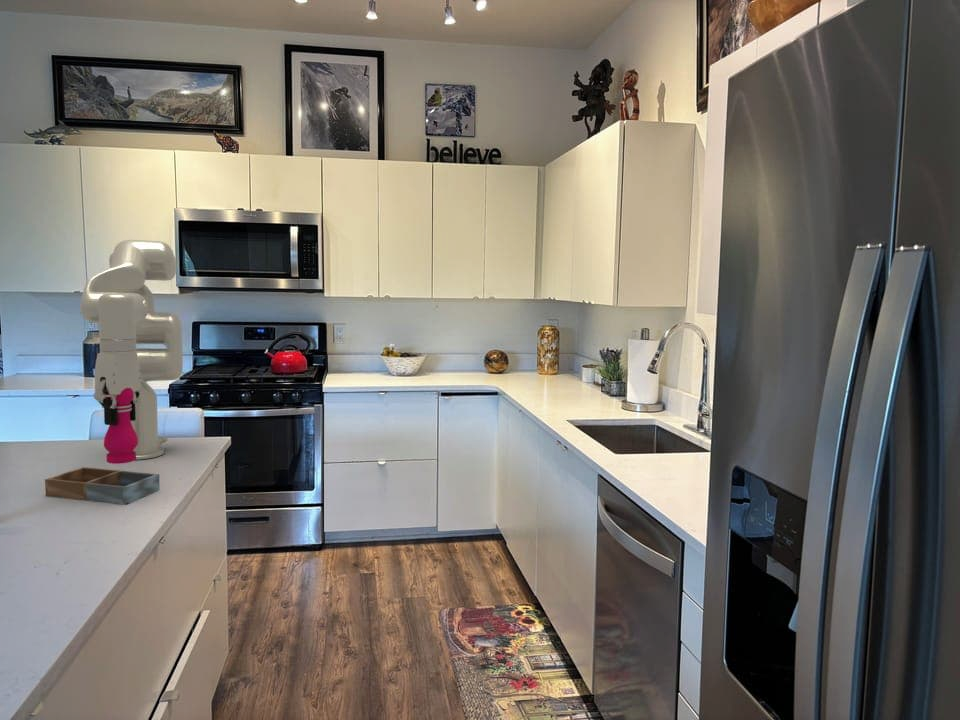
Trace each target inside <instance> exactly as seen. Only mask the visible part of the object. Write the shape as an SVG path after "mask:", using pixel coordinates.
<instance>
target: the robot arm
mask: <svg viewBox="0 0 960 720" xmlns="http://www.w3.org/2000/svg"><path fill="white" fill-rule="evenodd" d="M108 262H109V268H108V269H104V270H103V271H101V272H100V273H99V272H98V273H97V274H96V275H95V274H94V276H92V277H91V278H90V279H88V281H87V282H86V283H85V285H84V287H83V288H84V289H83V292H82V295H81V300H80V314H81V316H82V318H83V319H84V320H85V321H86V322H89V323H92V324H98V333H99V335H98V336H99V337H98V338H99V353H97V355H96V359H95V365H94V366H95V368H94V394H93V395H92V396H93V397H92V398H94V399H95V400H96V401H97V402H98V403H99V404H100V405H101V408H102V409H103V415H104V416H103V417H104V418H103V419H104V425H106V426H109V425H118V409H117V408H115V406H116V401H117V400H116V396H117V395H119V394H121V392H122V391H123V390H124V389H125V388H131V389H132V390H133V392H134V398H133V400H132V401H131V402H130V404H131V405H132V406H131V408H132V410H131V411H130V421H131V424H132V426H133V429H134V430H135V432H136V435H137V438H138V445H137V446H136V447H135V449H134V450H133V451H135V452H136V460H135V461H138V460H148V459H153V458H157V457H160V456H162V455H164V453H165V449H164V448H163V447H161V444H164V443H167V442H168V439H169V438H168V437H167V435H163V436H159V431H158V430H159V429H158V428H159V425H158V423H159V422H158V397H157V394H156V391H155V390H154V389H153V388H152V386H151V385H150V384H148V382H157V381H158V382H159V381H160V382H162V381H166V382H167V381H177V380H178V379H180V378H181V376H182V374H183V365H184V362H183V361H184V359H183V357H184V356H183V326H182V321H181V319H180V317H179V315H178V314H176V313H174V312H167V311H166V312H165V311H163V312H162V311H161V312H160V311H158V312H157V311H155V295H154V294H153V292H152V291H151V289H149V287H148V286H147V285H146V284H145V282H146V281H163V282H165V281H171V280H173V279H174V277H176V274H177V267H178V266H177V260H176V258H175V253H174V251H173V250H172V247H171V246H170V245H169V244H168V243H166V242H164V241H162V240H161V241H160V240H140V239H139V240H137V239H125V240H123V241H120V242H118V243H117V244H116V245H115V247H114V249H113V252H111V254H110V255H109V260H108ZM137 345H163V346H165V348H149V347H148V348H145V347H144V348H137ZM108 392H109V394H110V395H107V393H108ZM107 397H111V402H110V401H109V399H108V398H107Z"/></svg>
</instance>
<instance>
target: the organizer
mask: <svg viewBox="0 0 960 720" xmlns="http://www.w3.org/2000/svg"><path fill="white" fill-rule="evenodd" d="M44 486H45V487H44V488H45V497H54V498H61V497H64V499H71V498H73V500H80V499H84V500H83V501H89V500H93V501H92V502H98V501H101V503H108V502H111V503H110V504H117V503H121V504H120V505H128V504H130V502H131V503H133V502H135V501H138V500H139V498H140V499H142V498H144V497H143V496H145V497H146V495H147V496H149V495H152V494H153V492H154V493H156V492H159V491H160V474H157V473H148V472H147V473H146V472H137V471H126V470H117V469H115V470H114V469H108V468H107V469H106V468H97V467H85V466H82V467H80V468H76V469H73V470H70V471H67V472H64V473H60V474H57V475H54V476H52V477H48V478H45V479H44ZM158 490H159V491H158ZM151 493H152V494H151ZM148 494H149V495H148ZM141 497H142V498H141ZM137 499H138V500H137ZM134 500H135V501H134ZM132 501H133V502H132ZM127 503H128V504H127Z"/></svg>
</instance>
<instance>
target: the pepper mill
mask: <svg viewBox="0 0 960 720" xmlns="http://www.w3.org/2000/svg"><path fill="white" fill-rule="evenodd" d="M107 395H110V394H109V392H108V393H107ZM107 398H108V399H109V401H110V402H111V397H107ZM133 398H134V392H133V390H132V389H131V388H125V389H124V390H123V391H122V392H121V394H119V395H117V396H116V400H117V401H116V406H115V408H117V409H118V425H108V428H107V430H106V432H105V435H104V439H103V447H104V449H105V450H106V451H108V453H107V454H106V457H105V458H106V462H107V463H108V464H113V465H115V464H128V463H131V462H134V461H137V460H136V452H135V451H133V450H134V449H135V447H136V446H137V445H138V438H137V435H136V432H135V430H134V429H133V426H132V424H131V421H130V411H131V410H132V408H131V406H132V405H131V404H130V402H131V401H132V400H133Z"/></svg>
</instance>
